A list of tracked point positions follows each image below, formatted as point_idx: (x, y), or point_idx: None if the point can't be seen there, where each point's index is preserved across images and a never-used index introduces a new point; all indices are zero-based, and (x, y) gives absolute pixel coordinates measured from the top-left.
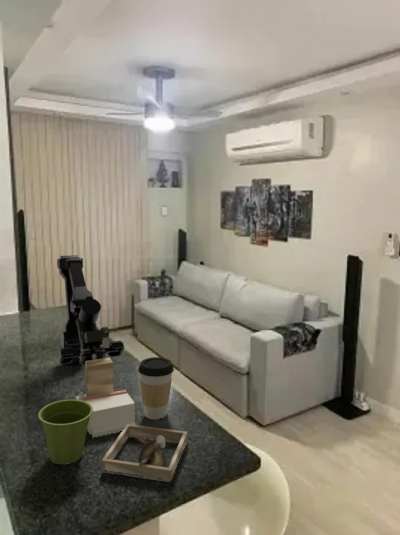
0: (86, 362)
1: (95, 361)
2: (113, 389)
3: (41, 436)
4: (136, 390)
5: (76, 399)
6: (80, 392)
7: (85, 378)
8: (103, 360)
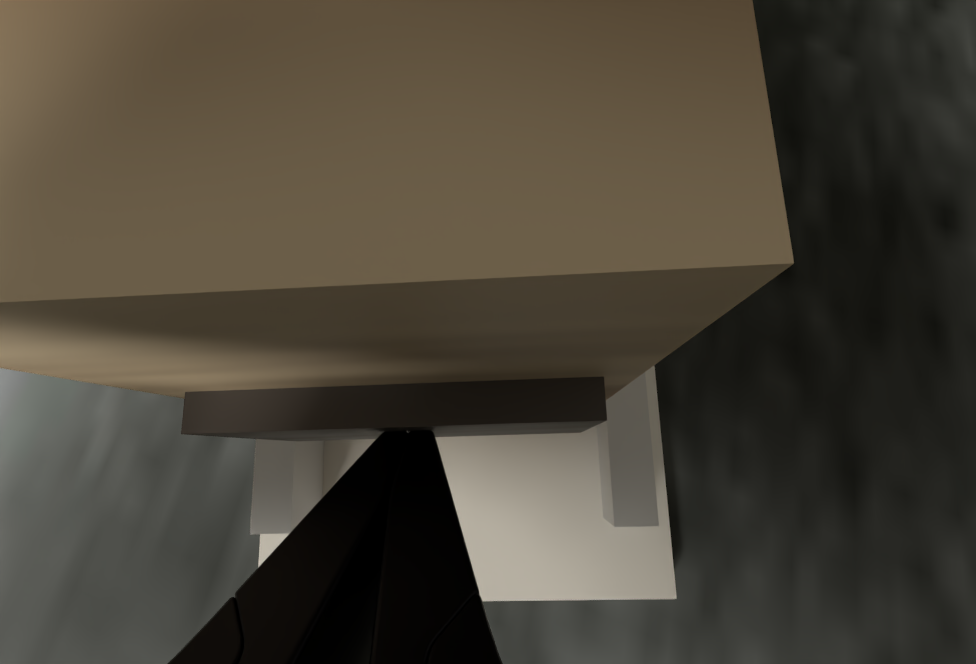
0: (747, 90)
1: (360, 82)
2: (256, 440)
3: (972, 47)
4: (35, 560)
5: (667, 537)
6: (643, 515)
7: (631, 378)
8: (42, 87)
